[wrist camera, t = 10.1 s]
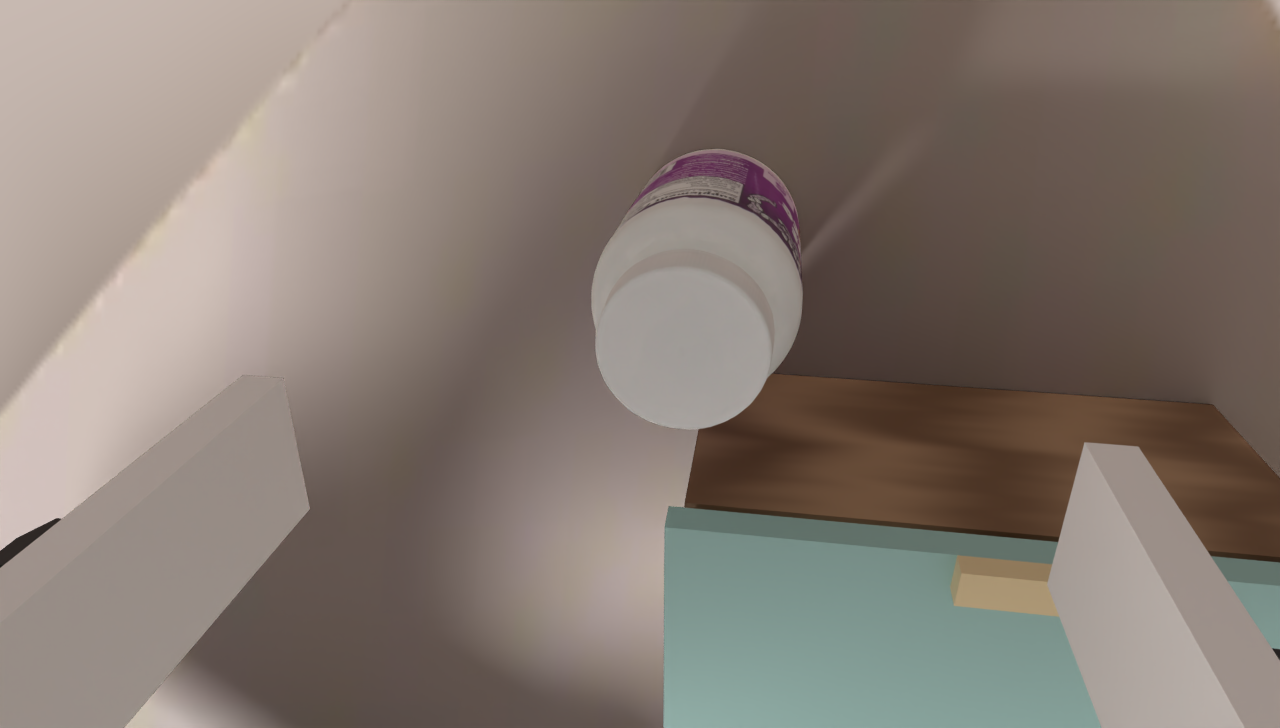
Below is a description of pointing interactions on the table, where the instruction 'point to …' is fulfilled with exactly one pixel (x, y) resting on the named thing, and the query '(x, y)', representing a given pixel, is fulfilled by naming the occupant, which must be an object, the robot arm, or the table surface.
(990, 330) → the table surface
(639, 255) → the pill bottle
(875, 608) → the lid
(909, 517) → the keepsake box
